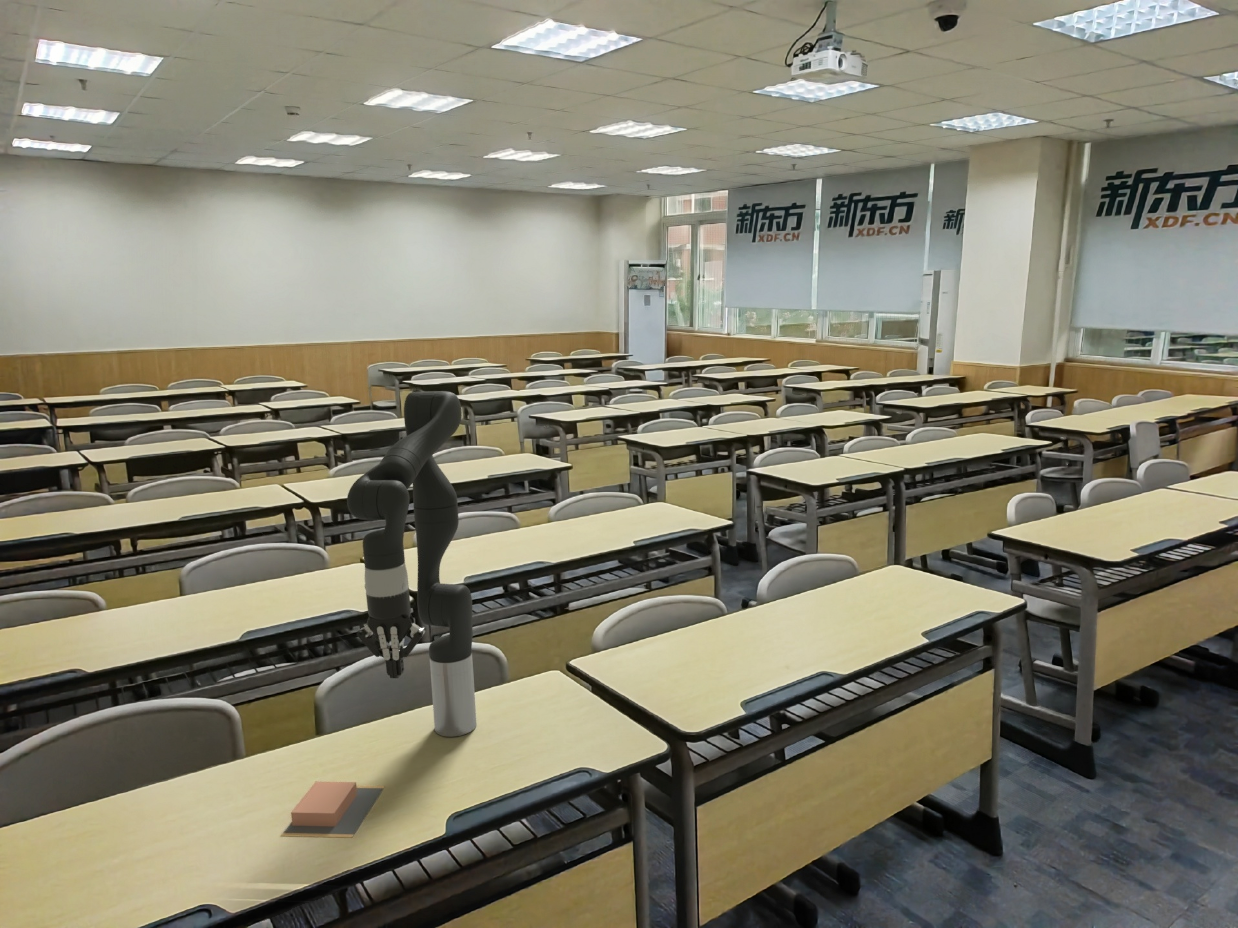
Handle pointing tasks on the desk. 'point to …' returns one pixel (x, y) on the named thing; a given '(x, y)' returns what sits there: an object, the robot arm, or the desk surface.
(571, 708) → the desk surface
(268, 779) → the desk surface
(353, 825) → the mat
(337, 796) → the slab
